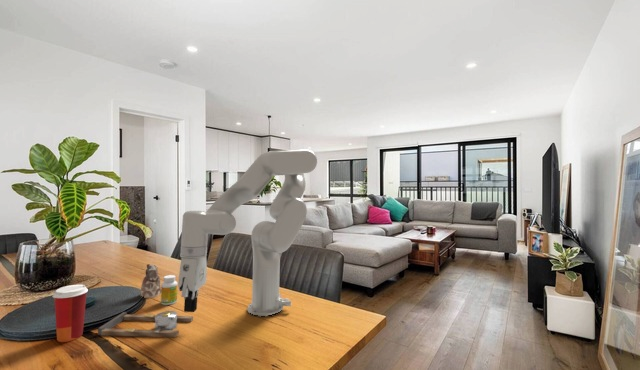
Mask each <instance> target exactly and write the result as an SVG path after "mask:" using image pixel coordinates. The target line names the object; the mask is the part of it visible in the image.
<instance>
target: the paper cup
mask: <svg viewBox="0 0 640 370" xmlns="http://www.w3.org/2000/svg"><path fill="white" fill-rule="evenodd" d="M88 291H89V289H88V288H87V287H86V285H85V284H72V285H71V284H70V285H66V286H62V287H59V288H57V289H55V291H54V292H53V295H51V296H52V298H53V299H54V312H55V326H56V327H55V328H56V329H55V330H56V341H57V342H59V343H68V342H72V341H75V340H78V339H79V338H81V337H82V336H83V332H84V326H85V325H84V324H85V323H84V322H85V316H86V315H85V313H86V303H87V301H86V300H87V293H88Z"/></svg>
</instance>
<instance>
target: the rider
mask: <svg viewBox="0 0 640 370" xmlns="http://www.w3.org/2000/svg"><path fill="white" fill-rule="evenodd" d="M155 315H156V316H155V321H154V330H157V329H161V330H176V328H177V326H178V325H177V324H178V322H177V316H178V312H177V311H175V310H167V311H162V312H159V313H157V314H155Z"/></svg>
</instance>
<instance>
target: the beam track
mask: <svg viewBox="0 0 640 370" xmlns="http://www.w3.org/2000/svg"><path fill="white" fill-rule="evenodd" d="M156 315H157V314H153V313H152V314H151V313H148V314H127V311H124V312H122V313H120V314H118V315H117V316H115V317H113V318H112V319H110V320H109V321H108V322H105V323H104V324H103V325H101V326H100V327H98V328H97V336H111V337H112V336H114V337H115V336H116V337H119V336H121V337H150V338H151V337H152V338H153V337H159V338H160V337H161V338H178V336H179V335H180V330H176V329H173V330H161V329H157V330H155V329H137V328H114V327H116V326H117V325H119V324H121V323H122V322H123V321H132V322H133V321H135V322H136V321H141V322H155V316H156ZM193 321H194V316H193V315H177V323H178V322H180V323H192V322H193Z"/></svg>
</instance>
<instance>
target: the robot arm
mask: <svg viewBox="0 0 640 370" xmlns="http://www.w3.org/2000/svg"><path fill="white" fill-rule="evenodd" d="M317 164H318V159H317V156H316V154H315V153H314V152H313V151H312V150H310V149H292V150H291V149H290V150H273V151H267V152H266V151H265V152H263V153H261V154H259V156H257V158H256V159H255V160H254V161H253V163H251V165H250V166H249V167H248V169H246V171H245V172H244V173H243V174H242V175H241V176H240V178H239V179H237V181H236V182H235V183H233V184H232V185H231V186H230V187H229V188H228V189H226V190H225V191H224V192H223V193H222V194H221V195H220V196H219V197H218V198H217V199H216V200H215V201H214V202H213V203H212V204H211V206H210V207H209V208H208V209H207V210H206V211H202V210H188V211H185V212H184V213H183V215H182V222H181V223H182V224H181V239H180V240H181V241H180V254H179V256H180V258H181V259H180V264H179V265H180V267H179V272H178V273H179V274H178V281H177V289H178V291H180V292H181V295H180V296H181V297H182V298H183V299H184V304H183V311H184V313H194V312H195V311H197V307H198V295H199V290H200V288H201V287H203V286H204V285H205V284H206V283H207V268H208V267H207V263H208V262H207V256H208V254H207V253H208V238H209V235H218V236H219V235H220V236H224V235H228V234H230V233H232V232H233V231H234V230H235V228H236V225H237V221H236V218H235V216H234V215H233V213H234V212H235V211H236V210H237V209H238V208H239V207H241V206H243V205H244V204H245V203H248V202H251V201H252V200H254V199H256V198H257V197H258V196H259V195H260V194H261V193H262V192H263V190H264V189H265V188H266V186H267V185H268V184H269V182H270V181H272V179H273V177H274V176H284V181H283V184H282V186H281V188H280V190H279V191H278V192H277V194H276V196H275V198H274V199H273V201H272V202H271V205H270V206H269V209H268V210H269V215H270V217H271V218H272V219H273V220H275V222H273V221H271V220H270V221H268V220H263V221H260V222H258V223H256V224H255V225H254V227H253V229H252V231H251V239H250V240H251V248H252V255H253V256H252V288H251V290H252V293H251V294H252V295H251V296H252V298H251V303H249V305H248V306H247V312H248V313H249V314H250V313H251V314H250V315H252V314H253V315H252V316H254V315H258V316H257V317H261V316H265V317H267V316H266V315H272V314H275V313H278V312H280V311H281V310H282V309H283V310H284V307H291V306H292V300H290V299H289V298H283V297H281V296H282V294H281V293H280V272H281V271H280V270H281V269H280V267H281V256H280V254H281V253H284V252H286V251H287V250H288V249H290V247H291V246H292V244H293V243H294V241H295V239H296V237H297V236H298V234H299V232H300V230H301V228H302V226H303V225H304V222H305V220H306V217H307V215H308V214H307V213H308V209H307V205H306V203H305V201H304V200H303V199H302V197H303V195H304V193H305V191H306V178H305V174H308V173H311V172H313V171H314V170H315V169H316V168H317ZM283 310H282V311H283ZM282 311H281V312H282ZM281 312H280V313H281ZM278 314H279V313H278ZM272 316H273V315H272Z"/></svg>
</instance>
